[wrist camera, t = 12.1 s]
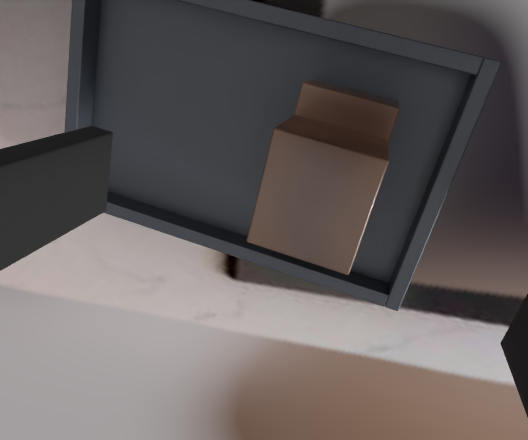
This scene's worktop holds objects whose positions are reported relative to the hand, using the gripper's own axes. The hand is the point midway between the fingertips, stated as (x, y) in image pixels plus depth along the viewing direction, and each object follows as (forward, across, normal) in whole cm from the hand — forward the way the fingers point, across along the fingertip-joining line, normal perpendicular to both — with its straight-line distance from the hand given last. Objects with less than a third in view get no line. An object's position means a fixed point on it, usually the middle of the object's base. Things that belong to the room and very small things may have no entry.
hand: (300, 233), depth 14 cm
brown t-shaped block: (+12, 0, -1) cm, 12 cm away
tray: (+13, -5, -1) cm, 14 cm away
